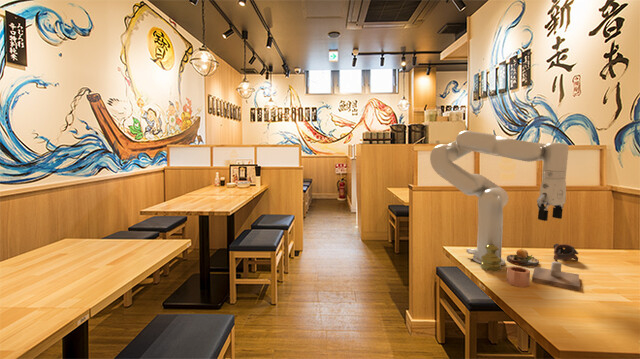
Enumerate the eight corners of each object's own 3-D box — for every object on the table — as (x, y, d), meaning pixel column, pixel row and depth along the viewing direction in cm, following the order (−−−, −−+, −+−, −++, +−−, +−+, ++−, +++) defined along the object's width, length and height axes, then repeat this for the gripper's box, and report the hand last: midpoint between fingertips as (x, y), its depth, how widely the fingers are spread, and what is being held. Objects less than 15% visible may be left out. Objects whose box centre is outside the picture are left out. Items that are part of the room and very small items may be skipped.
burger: (544, 264, 142) (546, 247, 141) (527, 269, 137) (528, 251, 136) (517, 256, 153) (518, 240, 152) (500, 260, 148) (501, 243, 147)
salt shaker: (503, 272, 133) (505, 248, 131) (483, 271, 134) (484, 247, 132) (497, 264, 140) (499, 242, 138) (478, 263, 141) (479, 241, 140)
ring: (505, 283, 121) (506, 270, 120) (508, 277, 127) (508, 265, 126) (528, 288, 117) (529, 274, 116) (529, 282, 122) (530, 269, 122)
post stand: (531, 281, 123) (532, 264, 123) (534, 270, 135) (535, 254, 134) (579, 290, 115) (581, 272, 115) (578, 278, 126) (579, 261, 126)
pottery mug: (585, 264, 143) (583, 250, 140) (565, 273, 144) (562, 259, 141) (563, 249, 155) (560, 235, 152) (544, 258, 155) (541, 244, 152)
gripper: (551, 176, 121) (547, 223, 123) (577, 175, 129) (572, 219, 131) (530, 175, 128) (526, 219, 129) (555, 174, 136) (552, 215, 137)
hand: (549, 219), depth 130 cm, fingers open, 9 cm apart
